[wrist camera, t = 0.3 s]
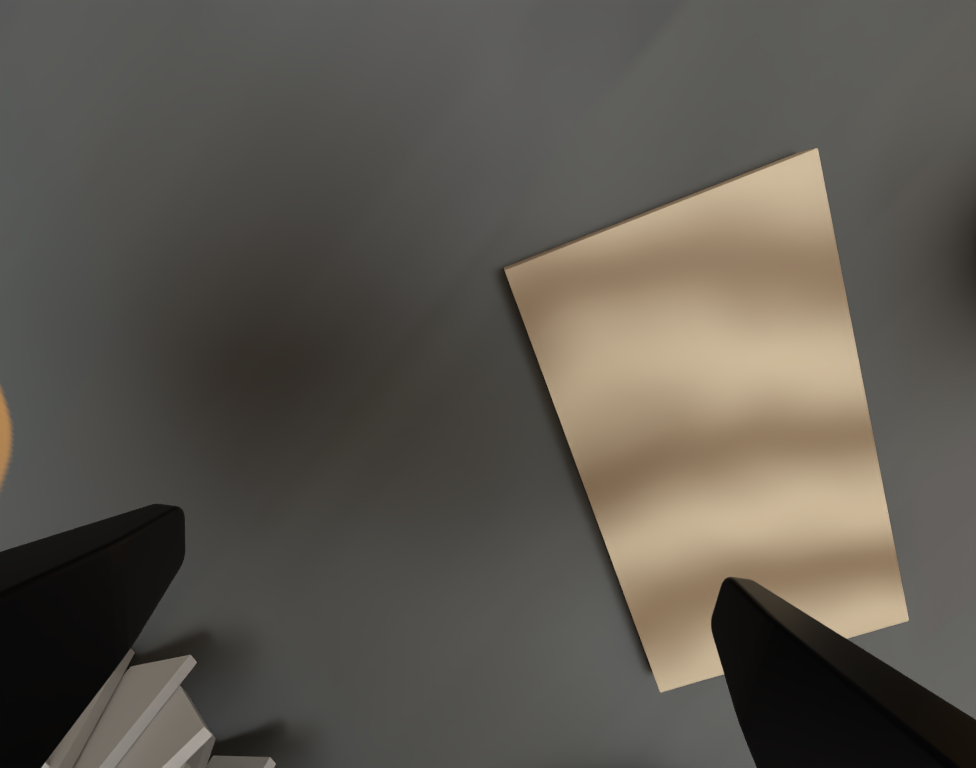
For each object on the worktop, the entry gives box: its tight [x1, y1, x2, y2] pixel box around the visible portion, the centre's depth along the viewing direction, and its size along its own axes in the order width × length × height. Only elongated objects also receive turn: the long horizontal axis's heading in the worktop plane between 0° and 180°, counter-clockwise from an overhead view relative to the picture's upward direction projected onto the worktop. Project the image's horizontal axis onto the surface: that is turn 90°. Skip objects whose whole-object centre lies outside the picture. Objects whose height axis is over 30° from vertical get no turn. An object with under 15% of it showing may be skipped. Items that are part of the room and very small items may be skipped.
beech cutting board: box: [504, 148, 909, 692], centre depth 21 cm, size 20×11×1 cm, turn 21°
